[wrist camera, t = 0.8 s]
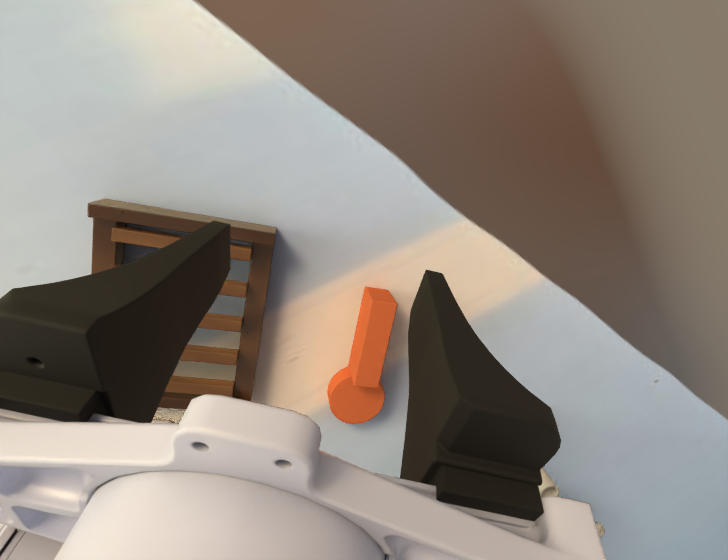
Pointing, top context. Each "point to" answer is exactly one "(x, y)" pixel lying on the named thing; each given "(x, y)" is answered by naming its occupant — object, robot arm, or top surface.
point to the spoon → (364, 361)
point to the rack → (184, 389)
